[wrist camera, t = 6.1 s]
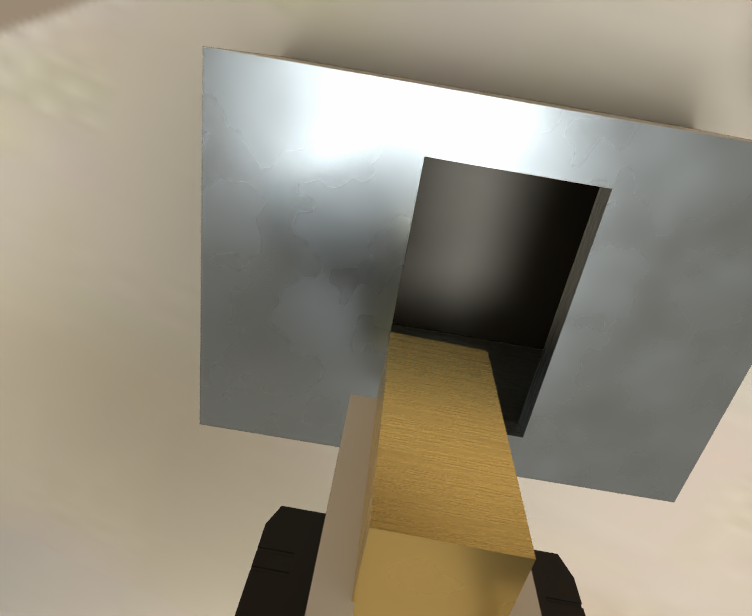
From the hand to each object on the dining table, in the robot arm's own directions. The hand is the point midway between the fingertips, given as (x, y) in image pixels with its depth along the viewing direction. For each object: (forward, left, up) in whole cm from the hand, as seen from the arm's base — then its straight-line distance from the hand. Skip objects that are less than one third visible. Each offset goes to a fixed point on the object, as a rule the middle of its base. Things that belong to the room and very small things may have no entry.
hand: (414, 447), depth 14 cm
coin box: (+2, +2, -15) cm, 16 cm away
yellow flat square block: (0, 0, -1) cm, 1 cm away
